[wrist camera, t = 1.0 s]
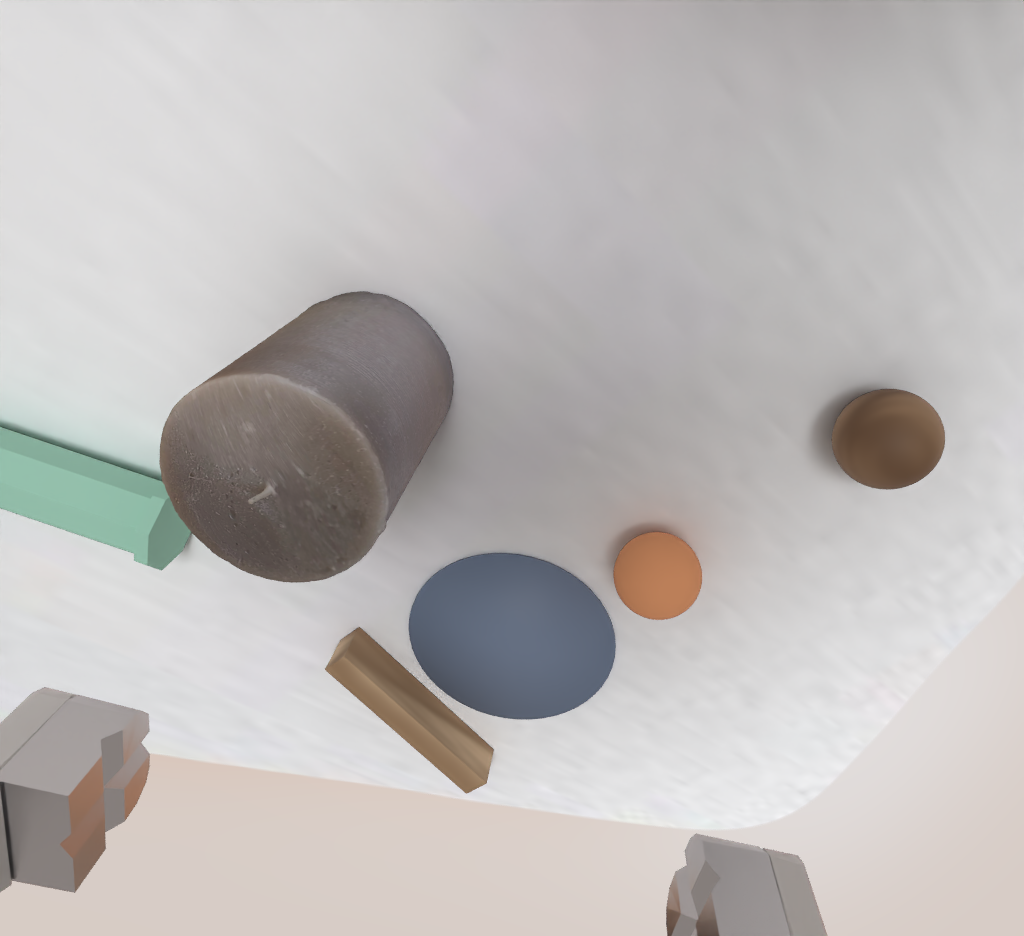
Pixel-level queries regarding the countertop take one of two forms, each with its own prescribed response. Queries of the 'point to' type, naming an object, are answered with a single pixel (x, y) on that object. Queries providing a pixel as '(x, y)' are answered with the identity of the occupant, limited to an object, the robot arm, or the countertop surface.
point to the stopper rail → (411, 710)
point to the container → (90, 499)
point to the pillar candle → (308, 438)
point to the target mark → (512, 636)
